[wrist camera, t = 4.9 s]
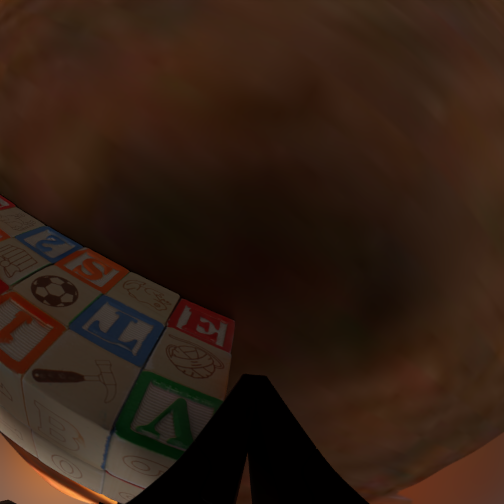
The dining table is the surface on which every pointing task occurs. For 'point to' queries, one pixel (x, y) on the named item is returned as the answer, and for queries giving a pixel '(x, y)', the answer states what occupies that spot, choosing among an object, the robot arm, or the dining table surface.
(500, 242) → the dining table surface
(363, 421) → the dining table surface
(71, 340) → the stack of blocks
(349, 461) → the dining table surface
